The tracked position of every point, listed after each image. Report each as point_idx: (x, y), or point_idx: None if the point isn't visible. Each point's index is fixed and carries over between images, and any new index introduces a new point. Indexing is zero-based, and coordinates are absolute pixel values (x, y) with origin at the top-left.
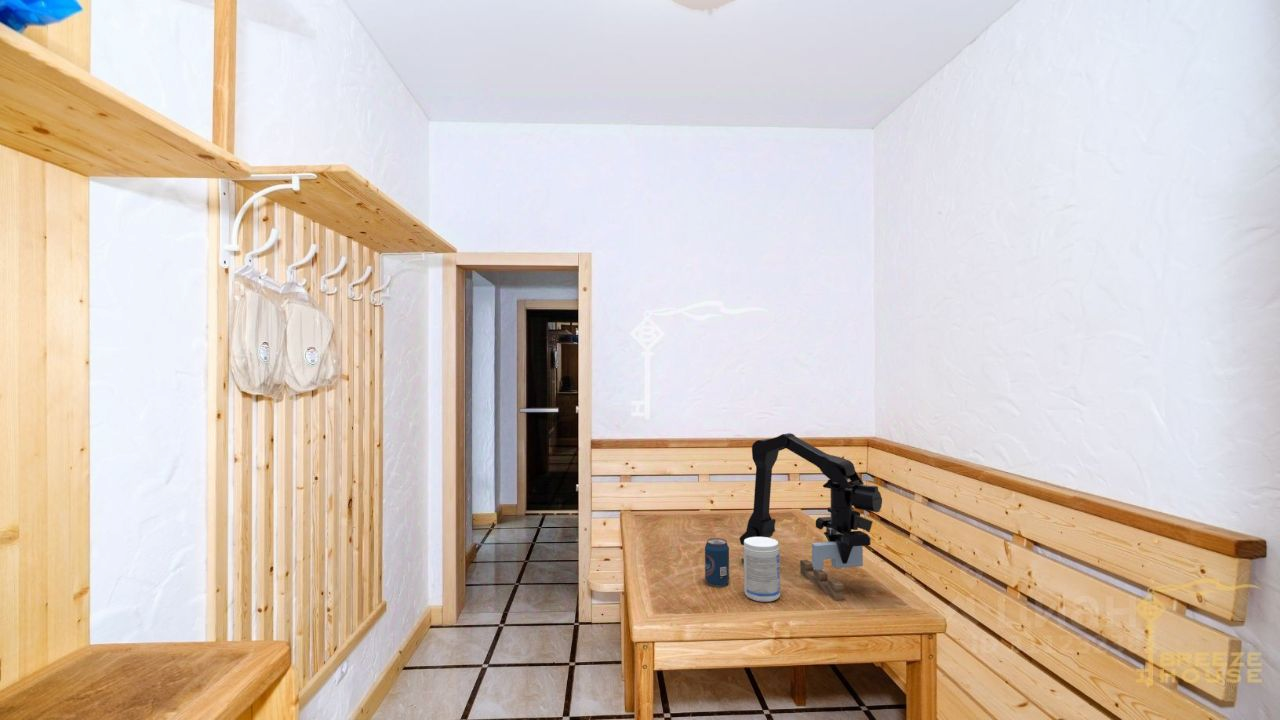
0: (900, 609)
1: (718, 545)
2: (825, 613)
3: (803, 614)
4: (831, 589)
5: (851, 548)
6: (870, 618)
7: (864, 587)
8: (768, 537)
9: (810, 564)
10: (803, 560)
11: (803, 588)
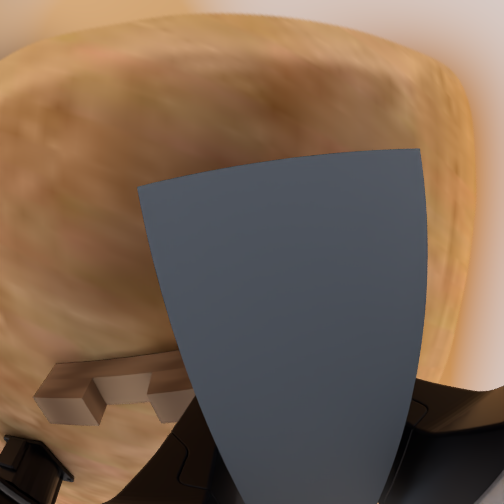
0: (427, 130)
1: None
2: None
3: None
4: None
5: (451, 396)
6: (461, 266)
7: (210, 158)
8: (10, 502)
9: (90, 410)
10: (51, 415)
11: None
